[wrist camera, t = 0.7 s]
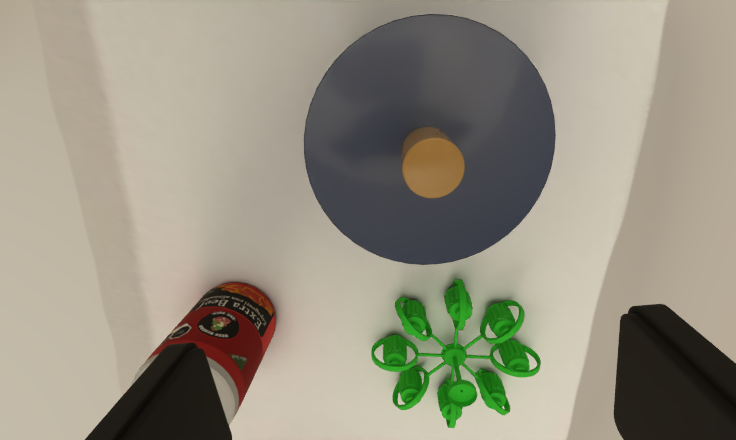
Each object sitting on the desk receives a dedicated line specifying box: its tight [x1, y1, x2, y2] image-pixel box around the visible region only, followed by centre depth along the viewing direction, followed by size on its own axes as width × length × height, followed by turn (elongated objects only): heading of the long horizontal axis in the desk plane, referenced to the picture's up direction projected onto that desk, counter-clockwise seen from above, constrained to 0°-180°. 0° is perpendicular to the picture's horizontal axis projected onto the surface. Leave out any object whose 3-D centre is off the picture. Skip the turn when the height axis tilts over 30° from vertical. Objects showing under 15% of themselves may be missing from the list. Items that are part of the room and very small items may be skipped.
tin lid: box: [304, 14, 555, 265], centre depth 22 cm, size 15×15×6 cm
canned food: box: [132, 282, 276, 425], centre depth 34 cm, size 8×8×11 cm
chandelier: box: [372, 279, 541, 428], centre depth 35 cm, size 15×15×7 cm
